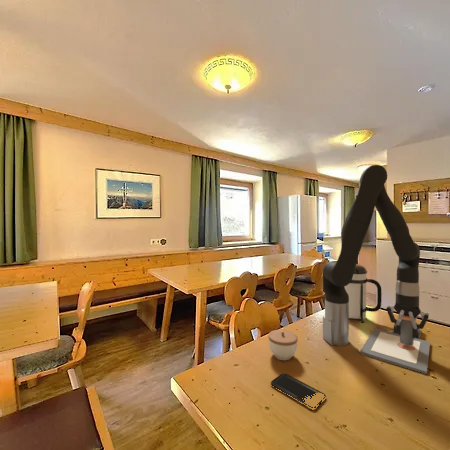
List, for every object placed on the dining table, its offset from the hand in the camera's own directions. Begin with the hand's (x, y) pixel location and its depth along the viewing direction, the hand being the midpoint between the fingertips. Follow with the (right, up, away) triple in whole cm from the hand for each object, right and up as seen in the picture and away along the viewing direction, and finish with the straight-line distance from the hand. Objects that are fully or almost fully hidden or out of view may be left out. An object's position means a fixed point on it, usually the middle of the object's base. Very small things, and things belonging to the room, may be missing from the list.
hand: (406, 335), depth 100 cm
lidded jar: (-49, -6, -3) cm, 50 cm away
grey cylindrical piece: (0, -3, 0) cm, 3 cm away
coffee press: (-4, -5, +31) cm, 32 cm away
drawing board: (-4, -6, +1) cm, 7 cm away
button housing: (+11, -5, +15) cm, 19 cm away
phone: (-50, -7, -23) cm, 55 cm away
